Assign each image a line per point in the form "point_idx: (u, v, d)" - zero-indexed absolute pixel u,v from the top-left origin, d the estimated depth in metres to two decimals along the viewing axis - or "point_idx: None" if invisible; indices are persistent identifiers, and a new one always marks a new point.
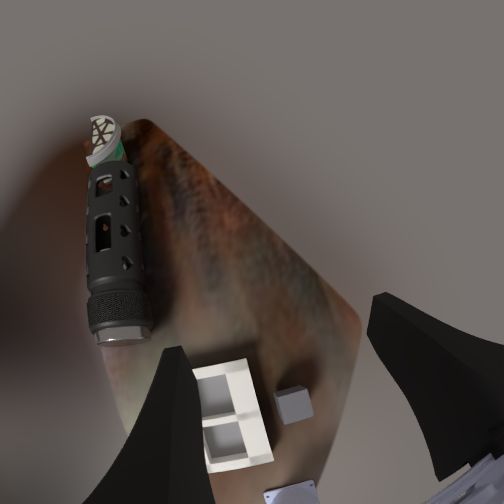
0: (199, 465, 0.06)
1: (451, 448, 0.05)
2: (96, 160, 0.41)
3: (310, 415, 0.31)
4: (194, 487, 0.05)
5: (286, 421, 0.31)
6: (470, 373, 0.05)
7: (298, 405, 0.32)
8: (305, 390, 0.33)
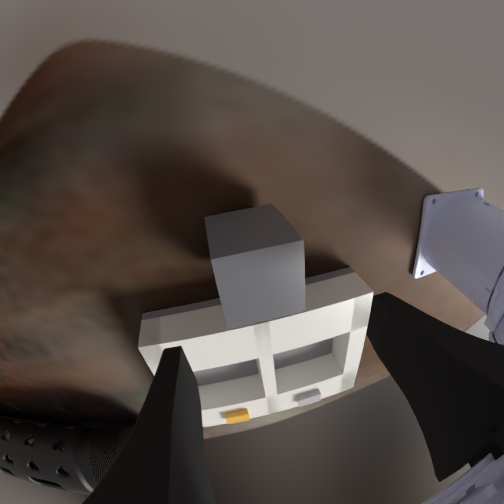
0: (199, 465, 0.06)
1: (451, 448, 0.05)
2: None
3: (299, 250, 0.12)
4: (194, 487, 0.05)
5: (298, 307, 0.14)
6: (470, 374, 0.05)
7: (259, 281, 0.13)
8: (215, 264, 0.12)
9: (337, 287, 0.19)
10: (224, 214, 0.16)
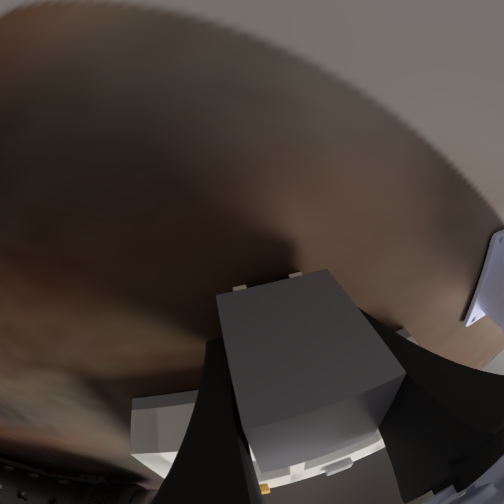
0: (249, 457, 0.07)
1: (414, 473, 0.05)
2: None
3: (394, 386, 0.06)
4: (253, 478, 0.05)
5: (365, 436, 0.07)
6: (429, 401, 0.05)
7: (322, 433, 0.06)
8: (251, 432, 0.05)
9: None
10: (250, 291, 0.09)
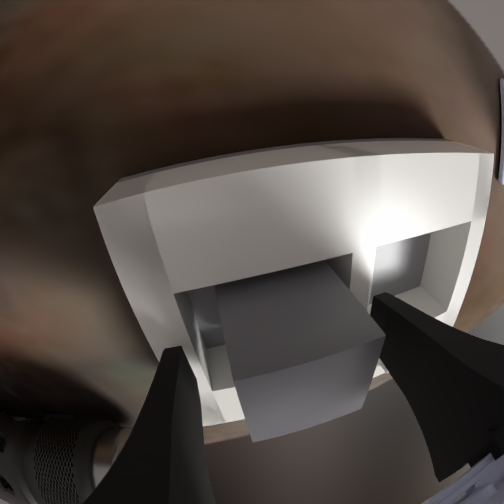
0: (199, 465, 0.06)
1: (451, 448, 0.05)
2: None
3: (376, 349, 0.07)
4: (194, 487, 0.05)
5: (353, 408, 0.08)
6: (469, 374, 0.05)
7: (309, 395, 0.07)
8: (241, 386, 0.06)
9: (448, 145, 0.10)
10: None
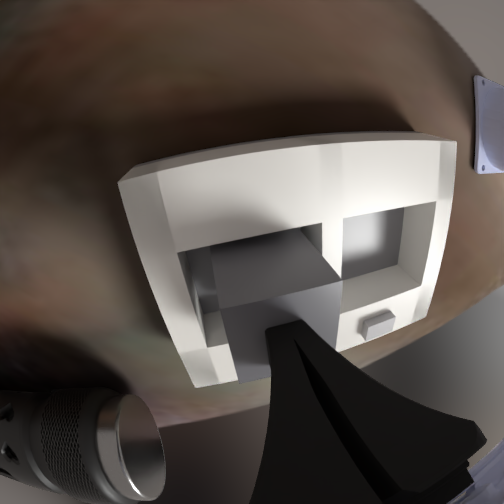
0: None
1: None
2: None
3: (336, 293, 0.09)
4: None
5: None
6: (357, 438, 0.05)
7: None
8: (226, 315, 0.08)
9: (413, 135, 0.12)
10: None
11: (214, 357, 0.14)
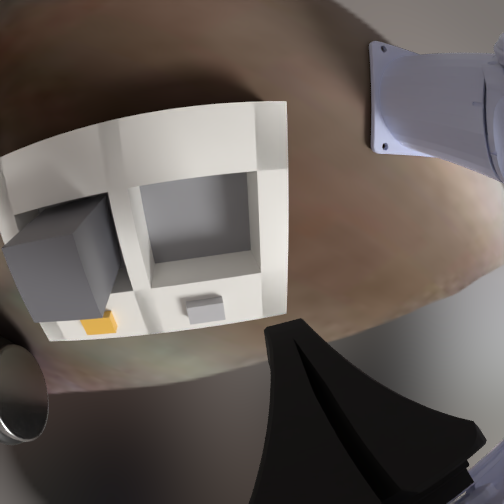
0: None
1: None
2: None
3: (71, 245, 0.09)
4: None
5: (92, 312, 0.10)
6: (357, 438, 0.05)
7: (43, 276, 0.09)
8: (5, 253, 0.08)
9: None
10: (59, 206, 0.12)
11: None
